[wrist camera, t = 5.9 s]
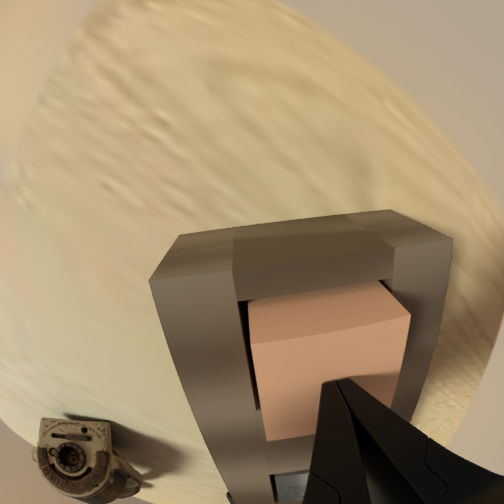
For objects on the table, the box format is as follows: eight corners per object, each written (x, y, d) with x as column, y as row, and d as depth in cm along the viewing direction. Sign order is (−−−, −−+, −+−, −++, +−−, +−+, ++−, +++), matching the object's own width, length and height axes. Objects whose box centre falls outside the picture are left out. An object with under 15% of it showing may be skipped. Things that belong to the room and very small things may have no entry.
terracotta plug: (350, 342, 13) (387, 415, 9) (258, 357, 13) (266, 441, 8) (353, 256, 12) (411, 314, 7) (245, 270, 12) (250, 344, 7)
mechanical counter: (167, 498, 13) (15, 462, 9) (142, 539, 15) (41, 518, 12) (158, 421, 19) (37, 389, 16) (136, 485, 22) (47, 464, 18)
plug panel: (362, 437, 19) (380, 485, 14) (238, 458, 19) (239, 510, 14) (389, 209, 13) (452, 238, 8) (179, 234, 13) (148, 280, 8)
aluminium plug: (331, 440, 18) (345, 490, 14) (272, 450, 18) (279, 503, 14) (334, 405, 17) (354, 463, 12) (267, 417, 17) (274, 478, 12)
